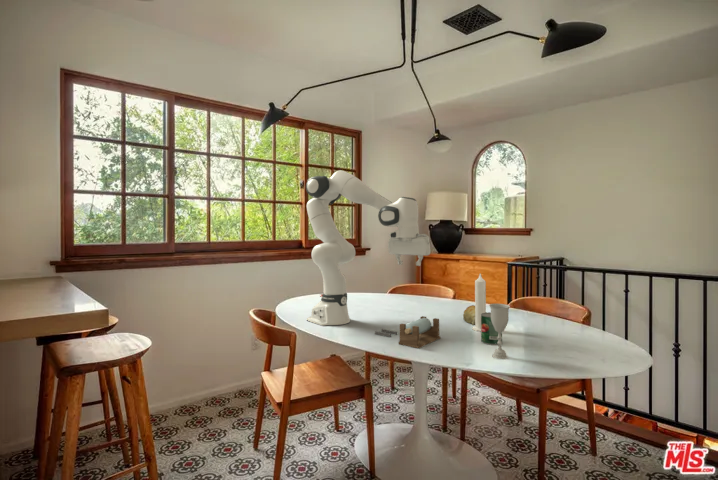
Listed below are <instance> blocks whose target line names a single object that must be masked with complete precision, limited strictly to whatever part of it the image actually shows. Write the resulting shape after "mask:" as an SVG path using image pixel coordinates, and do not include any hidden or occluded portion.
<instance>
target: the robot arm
mask: <svg viewBox="0 0 718 480" xmlns="http://www.w3.org/2000/svg"><path fill="white" fill-rule="evenodd" d="M305 190H306V193H307V195H309V196H311V197H312V198H311V199H309V200H308V201H307V203H306V211H307V216H308V219H309V222H310V225H311V228H312V230H313V233H314V236H315V237H316V238H317V239H319V240H320V241H321V242H322V243H319V244H317V245H314V247H313V248H312V250H311V260H312V262H313V263H314V264H315V265H316V266H317V267H318V268H319V271H320V272H321V277H322V285H323V293H321V294H320V295H319V298H320V297H321V299H320V301H319V302H318V303H316V304H315V305H314V306H313V307H312V309H311V316H309V317H307V318H306V321H307V320H308V322H311V323H314V324H316V325H318V326H323V327H324V326H339V325H341V326H342V325H346V324H348V323H350V322H351V320H350V316H349V310H348V293H347V279H346V278H347V277H346V276H345V275H344V274H343V273H342V271H341V269H340V266H339V265H343V264H345V265H346V264H347V263H349V262H352V261H353V260H354V259H355V257H356V249H355V247H354V245H353V244H352V243H351V242H349V241H347V239H346V238H345V237H344V236H343V235H342V234H341V233H340V231H339V230H338V228H337V225H336V223H335V221H334V219H333V216H332V213H331V210H330V208H329V205H333V204H334V203H336V202H337V201H338V200H339V199H340V198H341V197H344V199H346V200H348V201H350V202H351V203H355V204H359V205H366V206H370V207H373V208H376V209H377V210H378V215H377V218H378V221H379V223H380V225H382V226H385V227H390V228H391V227H392V228H393V227H395V228H396V227H397V228H398V229H397V230H395V231H392V232H390V233H388V237H389V240H388V241H387V249H388V250H387V251H388V254H389V255H394V256H395V259H396V260H397V265H398V266H401V265H403V260H402V259H401V256H402V255H403V256H417V261H415V266H416V267H417V266H418V267H420V266H422V265H421V264H422V261H423V259H424V256H430V254H431V253H432V252H431V251H432V250H431V243H430V242H431V241H430V240H431V239H430V236H429V235H428V234H427V233H419V231H420V230H419V229H420V227H419V221H418V220H419V217H420V215H419V206H418V205H419V204H418V201H417V199H416V198H413V197H406V196H401V197H399V198H398V199H397V200H396V201H394V202H392V201H390V200H389V199H387V198H385V197H384V196H382V195H380V194H379V193H378V192H376V191H375V190H374V189H372V188H371V187H370V186H369V185H367V184H366V183H365V182H363V181H362V180H361V179H359V178H358V177H357V176H355V175H353V174H352V173H349V172H347V171H346V170H343V169H342V170H341V169H340V170H337V171H335V172H333V174H332V175H331V177H327V175H316V176H315V175H314V176H311V177H310V178H308V179H307V182H306V184H305Z"/></svg>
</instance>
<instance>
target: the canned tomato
mask: <svg viewBox="0 0 718 480" xmlns="http://www.w3.org/2000/svg"><path fill="white" fill-rule="evenodd" d="M480 337H481V338H480V341H481V343H482V344H484V345H491V346H498V343H497V342H498V338H497V337H498V332H497V331H496V330H495V328H494V326H493V324H492V321H491V311H490V312H488V311H487V313H482V314H481V332H480ZM501 337H502V339H501V342H502V343H503V332H501Z"/></svg>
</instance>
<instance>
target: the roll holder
mask: <svg viewBox="0 0 718 480" xmlns="http://www.w3.org/2000/svg"><path fill="white" fill-rule="evenodd" d="M422 318H427V316H423V315H422V316H420V319H422ZM406 324H407V323H399V325H398V326H399V341H398V345H402V346H405V347H410V348H415V349H420V348H422V347H424V346H427V345H429V344H431V343H433V342H435V341H438V340H440V339H441V335H440V319H439V318H436V317H435V318H432V325H431V328H430V330H428V331H426V332H424V333H421V334H419V326H413V327H412V333H413V334H405V333H404V330H405V329H406Z"/></svg>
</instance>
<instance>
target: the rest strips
mask: <svg viewBox="0 0 718 480" xmlns="http://www.w3.org/2000/svg"><path fill="white" fill-rule="evenodd" d="M374 335H377V336H383V337H387V338H391V337H392V335H394V336H396V335H398V331H396V330H390V329H384V328H381V330H380V331H379V330H376V331H374Z"/></svg>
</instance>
